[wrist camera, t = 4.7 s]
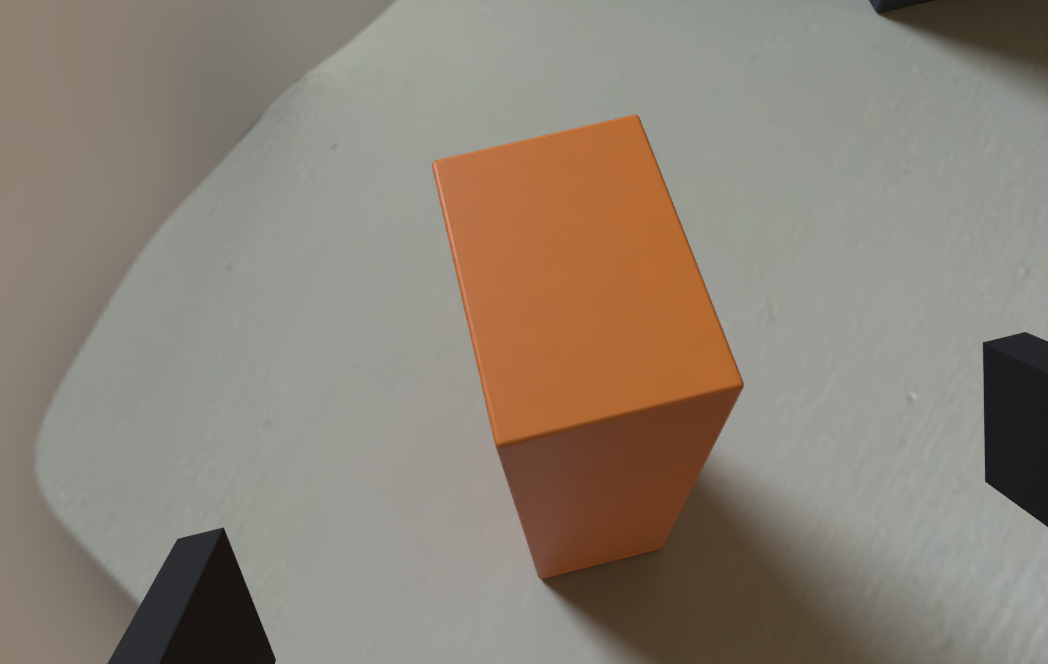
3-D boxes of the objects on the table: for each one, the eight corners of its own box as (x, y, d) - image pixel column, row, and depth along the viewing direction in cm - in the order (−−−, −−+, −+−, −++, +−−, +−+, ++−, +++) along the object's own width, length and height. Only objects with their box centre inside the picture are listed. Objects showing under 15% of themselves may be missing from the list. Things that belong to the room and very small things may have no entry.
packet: (539, 580, 21) (495, 448, 10) (500, 412, 23) (430, 160, 13) (662, 548, 21) (746, 386, 10) (612, 385, 23) (638, 111, 13)
